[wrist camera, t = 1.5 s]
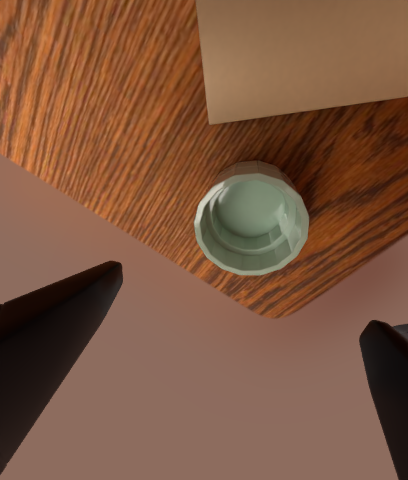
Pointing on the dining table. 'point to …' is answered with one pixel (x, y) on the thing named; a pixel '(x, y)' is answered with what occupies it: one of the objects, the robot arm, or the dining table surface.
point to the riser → (300, 55)
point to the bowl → (251, 219)
